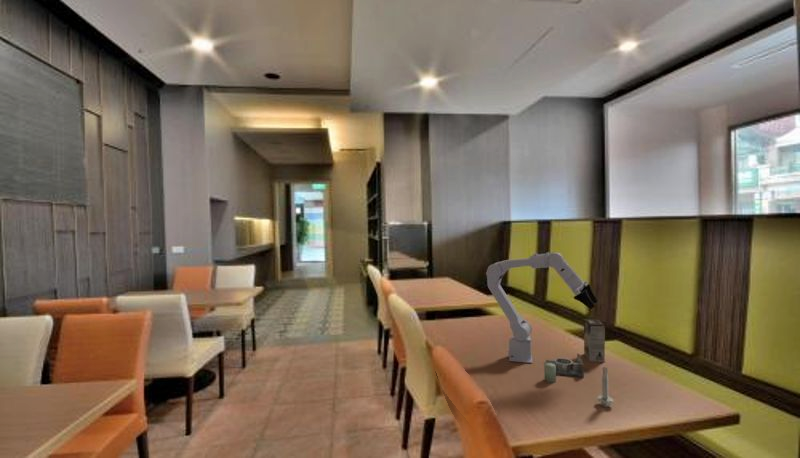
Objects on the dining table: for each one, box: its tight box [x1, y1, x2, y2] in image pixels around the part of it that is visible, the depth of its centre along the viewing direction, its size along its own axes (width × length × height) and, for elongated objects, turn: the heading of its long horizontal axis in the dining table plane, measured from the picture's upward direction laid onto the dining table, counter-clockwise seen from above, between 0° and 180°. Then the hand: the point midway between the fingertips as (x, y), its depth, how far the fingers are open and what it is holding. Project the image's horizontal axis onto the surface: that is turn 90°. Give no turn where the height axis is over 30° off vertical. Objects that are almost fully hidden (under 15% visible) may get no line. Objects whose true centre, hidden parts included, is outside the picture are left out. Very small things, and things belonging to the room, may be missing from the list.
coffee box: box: [583, 318, 606, 363], centre depth 165 cm, size 9×6×16 cm
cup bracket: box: [545, 353, 585, 378], centre depth 153 cm, size 13×12×5 cm
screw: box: [596, 366, 614, 408], centre depth 124 cm, size 13×5×5 cm
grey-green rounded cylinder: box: [543, 362, 557, 384], centre depth 143 cm, size 4×4×6 cm
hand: (594, 305), depth 149 cm, fingers open, 7 cm apart
